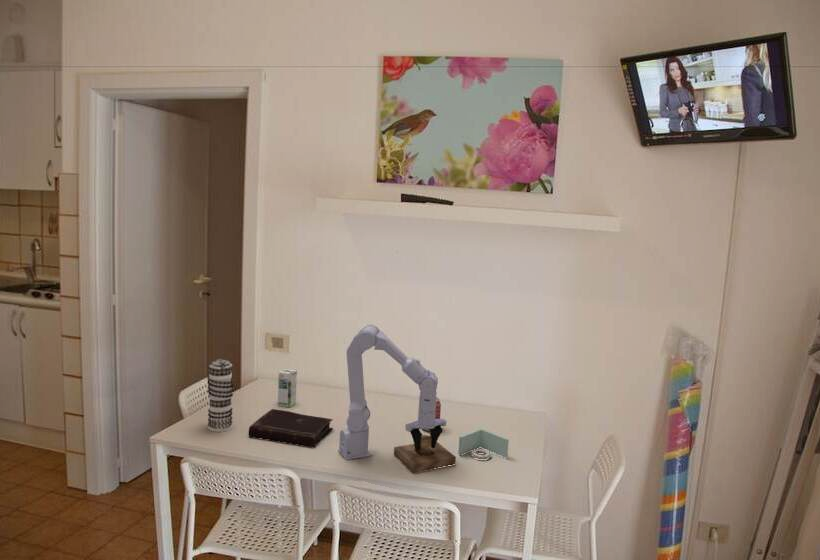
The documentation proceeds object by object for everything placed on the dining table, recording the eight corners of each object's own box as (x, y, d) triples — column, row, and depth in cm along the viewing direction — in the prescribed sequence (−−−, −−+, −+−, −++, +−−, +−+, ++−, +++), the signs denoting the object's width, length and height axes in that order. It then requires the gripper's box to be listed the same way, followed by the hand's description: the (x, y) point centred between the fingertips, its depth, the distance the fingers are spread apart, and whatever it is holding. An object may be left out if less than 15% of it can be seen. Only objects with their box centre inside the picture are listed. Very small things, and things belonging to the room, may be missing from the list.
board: (412, 473, 188) (412, 464, 188) (393, 455, 201) (394, 447, 200) (455, 465, 196) (455, 456, 195) (434, 448, 208) (435, 440, 208)
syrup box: (277, 405, 241) (277, 371, 239) (284, 401, 247) (285, 367, 245) (289, 407, 239) (290, 373, 237) (296, 403, 245) (297, 369, 243)
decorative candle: (205, 424, 219) (205, 358, 215) (230, 420, 223) (231, 356, 219) (209, 433, 210) (209, 365, 207) (235, 429, 215) (236, 363, 211)
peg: (421, 464, 195) (422, 441, 194) (415, 458, 199) (416, 436, 198) (432, 461, 197) (434, 439, 196) (426, 456, 201) (427, 434, 200)
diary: (313, 450, 203) (313, 436, 202) (248, 439, 209) (248, 426, 208) (333, 429, 221) (334, 417, 220) (273, 420, 227) (273, 407, 226)
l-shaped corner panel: (458, 457, 203) (459, 436, 202) (479, 448, 212) (481, 428, 211) (485, 469, 195) (487, 448, 194) (507, 459, 203) (508, 439, 202)
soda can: (418, 426, 227) (419, 396, 226) (435, 424, 230) (436, 395, 228) (425, 433, 221) (426, 402, 219) (442, 431, 223) (444, 401, 222)
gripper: (413, 416, 189) (410, 456, 191) (452, 411, 195) (449, 450, 197) (403, 409, 195) (401, 447, 197) (441, 404, 202) (439, 441, 204)
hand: (424, 448), depth 198 cm, fingers open, 5 cm apart
